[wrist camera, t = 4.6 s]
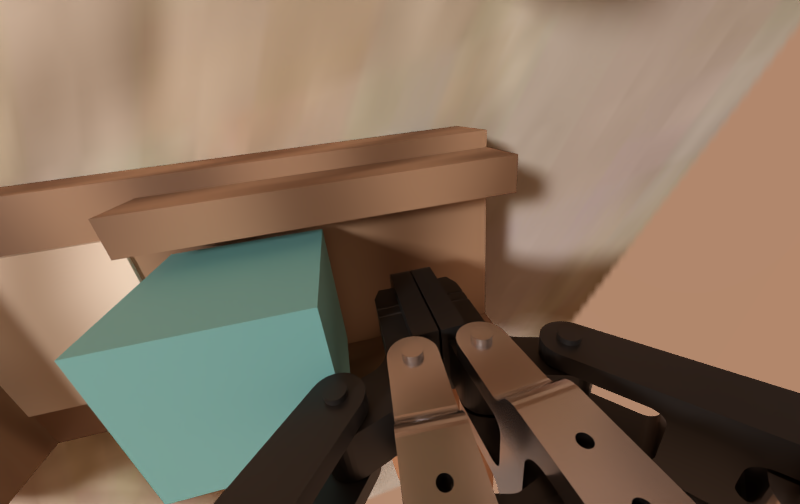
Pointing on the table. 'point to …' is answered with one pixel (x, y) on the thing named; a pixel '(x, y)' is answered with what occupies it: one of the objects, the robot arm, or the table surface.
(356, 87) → the table surface
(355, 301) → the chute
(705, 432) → the robot arm
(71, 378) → the block
